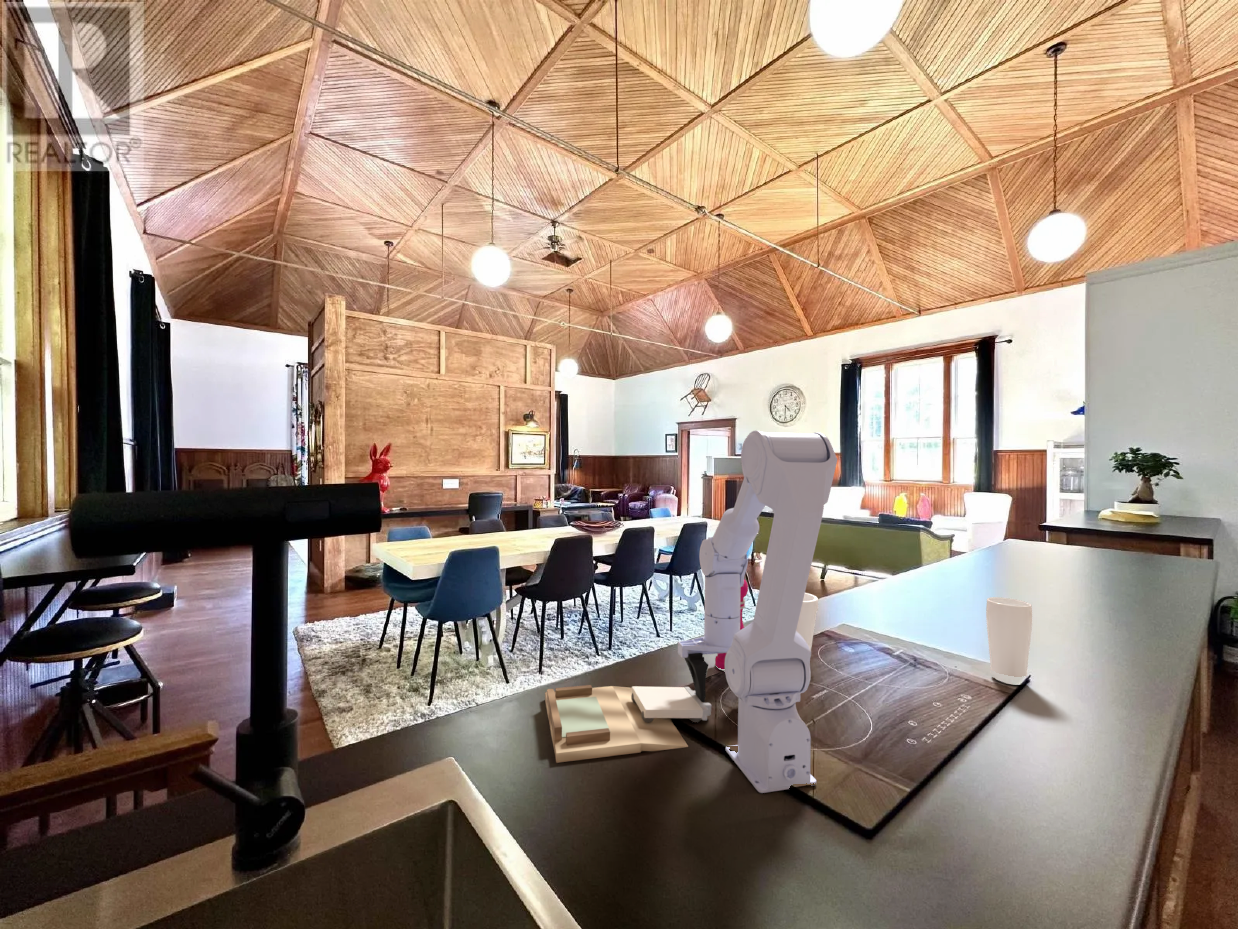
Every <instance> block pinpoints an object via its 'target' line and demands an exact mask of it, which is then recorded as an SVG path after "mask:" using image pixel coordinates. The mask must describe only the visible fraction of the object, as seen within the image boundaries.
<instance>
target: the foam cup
mask: <svg viewBox="0 0 1238 929" xmlns="http://www.w3.org/2000/svg"><path fill="white" fill-rule="evenodd" d="M818 611H819V598H818V597H817V596H816V595H815V594H811V593H809V592H805V594H804V598H803V603H802V607H801V612H800V616H799V620H798V625H797V629H796V631H797V632H798V633H799V634H800V635H801V636H802V637H803V638H804V640H805V641H806V643H807V644H808V646H809V649H810V651H811V652H812V645H813V640H814V632H815V628H816V627H815V625H816V618H817V612H818Z"/></svg>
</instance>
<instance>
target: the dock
mask: <svg viewBox="0 0 1238 929" xmlns="http://www.w3.org/2000/svg"><path fill="white" fill-rule="evenodd" d="M631 691H632V687H629V686H628V687H626V686H616V685H615V686H614V685H610V686H609V685H608V686H598V687H592V684H585V685H575V686H565V687H555V690H554V688H548V689H546V692H544V701H545V708H546V713H547V718H548V723H549V729H550V730H549V731H550V735H551V741H552V746H553V750H554V751H553V752H554V757H555V763H556V764H558V763H564V762H566V763H567V762H573V761H583V760H590V759H597V758H599V759H600V758H606V757H614V756H621V755H629V754H630V755H631V754H638V753H641V752H659V751H664V750H674V749H682V748H688V747H689V745H688V744H687V742H686V741H685V738H684V737H682V734H681V733H680V731H679V730H678V729H677V727H676V726H675V725H674V722H673V721H672V719H671V718H654V720H653V721H652V722H650V723H646V722H644V721H643V719H642V717H641V713H642V712H641V710H640V709H639V707H638V705H637V704H635V703H634V702H633V701H632V699H631V695H632V694H631Z"/></svg>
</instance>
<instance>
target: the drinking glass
mask: <svg viewBox="0 0 1238 929" xmlns="http://www.w3.org/2000/svg"><path fill="white" fill-rule="evenodd" d="M985 610H986V611H985V618H986V620H985V622H986V630H987V639H988V640H987V642H988V652H989V653H988V654H989V660H990V663H989V664H990V671H991V670H992V671H995V672H996V673H999V674H1004V675H1008V676H1014V677H1022V676H1027V677H1028V666H1029V656H1030V650H1031V649H1030V648H1031V640H1032V631H1033V607H1032V604H1031V603H1030V602H1028V601H1023V600H1020V599H1015V598H1009V597H1000V596H997V597H995V596H993V597H991V596H990V597H988V598H987V599H986V608H985Z"/></svg>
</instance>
